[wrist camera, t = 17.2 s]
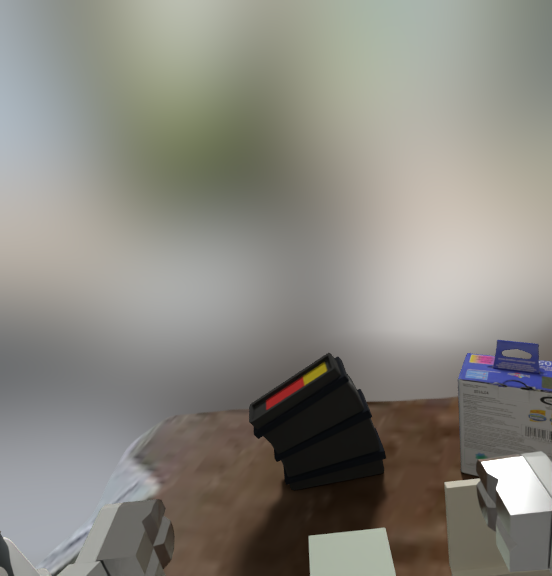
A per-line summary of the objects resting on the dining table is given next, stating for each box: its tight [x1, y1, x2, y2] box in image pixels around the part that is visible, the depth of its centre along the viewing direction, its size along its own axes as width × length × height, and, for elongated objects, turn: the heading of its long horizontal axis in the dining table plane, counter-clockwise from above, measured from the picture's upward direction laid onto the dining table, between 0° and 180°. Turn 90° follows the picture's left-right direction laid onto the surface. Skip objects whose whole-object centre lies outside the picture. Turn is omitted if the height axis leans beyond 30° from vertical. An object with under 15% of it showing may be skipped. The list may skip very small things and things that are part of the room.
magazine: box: [249, 353, 386, 490], centre depth 47 cm, size 4×13×15 cm, turn 93°
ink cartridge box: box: [458, 340, 552, 476], centre depth 43 cm, size 10×6×14 cm, turn 60°
